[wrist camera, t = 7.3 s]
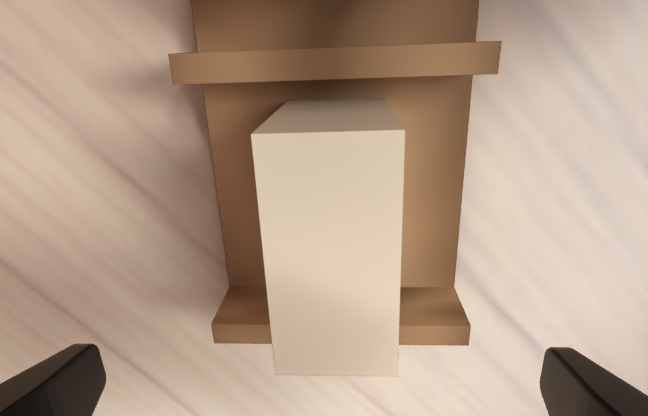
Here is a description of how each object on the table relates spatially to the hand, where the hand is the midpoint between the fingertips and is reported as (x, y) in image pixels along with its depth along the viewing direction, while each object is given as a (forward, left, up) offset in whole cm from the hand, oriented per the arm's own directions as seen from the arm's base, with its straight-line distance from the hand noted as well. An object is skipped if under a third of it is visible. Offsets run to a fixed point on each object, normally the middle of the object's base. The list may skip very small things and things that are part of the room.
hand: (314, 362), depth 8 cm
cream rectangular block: (0, 0, -11) cm, 11 cm away
